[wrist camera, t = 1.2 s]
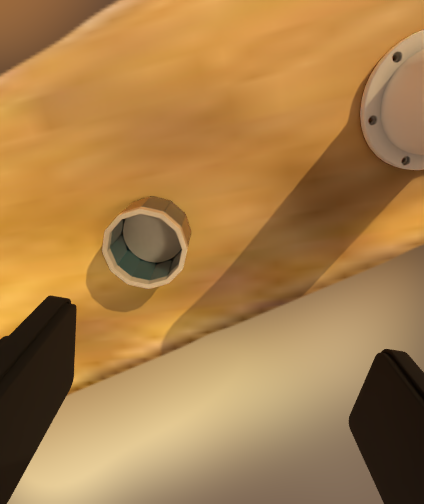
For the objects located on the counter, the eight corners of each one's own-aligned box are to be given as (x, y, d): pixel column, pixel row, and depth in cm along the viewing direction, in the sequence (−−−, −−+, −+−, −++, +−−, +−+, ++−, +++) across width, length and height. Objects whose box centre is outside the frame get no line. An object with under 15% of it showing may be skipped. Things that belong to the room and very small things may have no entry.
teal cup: (177, 188, 35) (170, 199, 30) (199, 254, 38) (196, 276, 32) (108, 208, 36) (89, 223, 31) (134, 272, 39) (121, 296, 33)
